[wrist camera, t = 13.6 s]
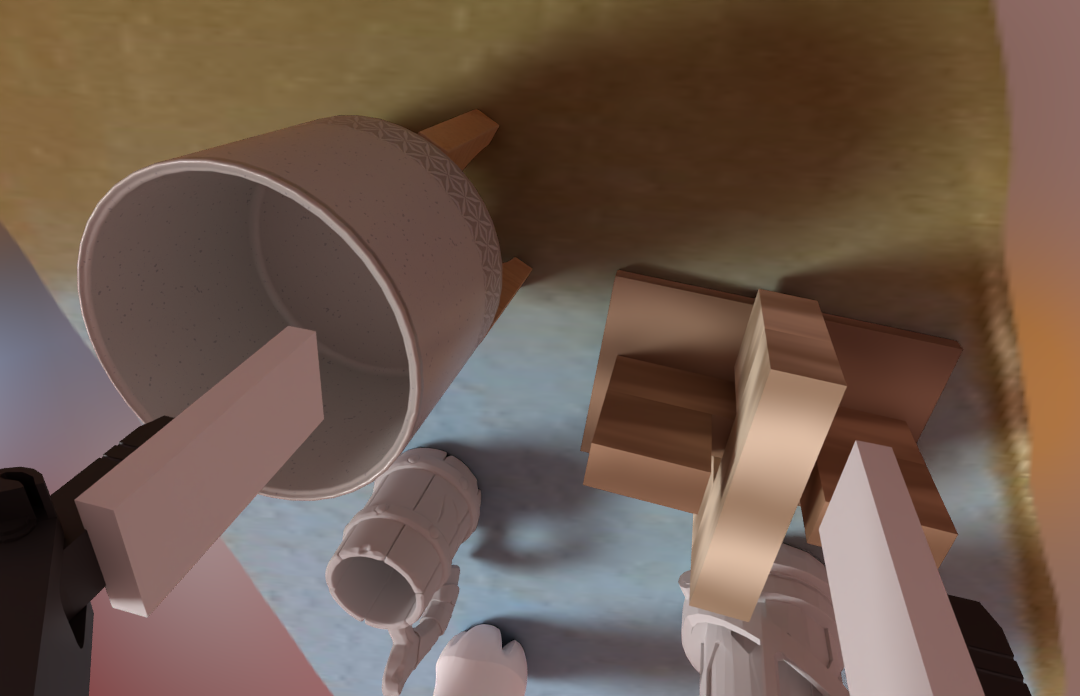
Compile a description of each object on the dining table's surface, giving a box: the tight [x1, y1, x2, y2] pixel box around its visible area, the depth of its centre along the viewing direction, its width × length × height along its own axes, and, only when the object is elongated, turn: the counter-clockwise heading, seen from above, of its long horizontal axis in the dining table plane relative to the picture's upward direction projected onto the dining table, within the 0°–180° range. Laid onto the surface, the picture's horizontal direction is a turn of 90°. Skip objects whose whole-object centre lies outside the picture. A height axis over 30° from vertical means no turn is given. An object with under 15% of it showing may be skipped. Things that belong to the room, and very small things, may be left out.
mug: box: [326, 448, 481, 696], centre depth 43 cm, size 8×12×12 cm, turn 14°
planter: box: [77, 109, 532, 501], centre depth 31 cm, size 13×13×18 cm
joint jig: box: [580, 270, 963, 569], centre depth 34 cm, size 12×18×10 cm, turn 83°
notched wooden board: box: [689, 289, 847, 622], centre depth 34 cm, size 14×3×9 cm, turn 173°
